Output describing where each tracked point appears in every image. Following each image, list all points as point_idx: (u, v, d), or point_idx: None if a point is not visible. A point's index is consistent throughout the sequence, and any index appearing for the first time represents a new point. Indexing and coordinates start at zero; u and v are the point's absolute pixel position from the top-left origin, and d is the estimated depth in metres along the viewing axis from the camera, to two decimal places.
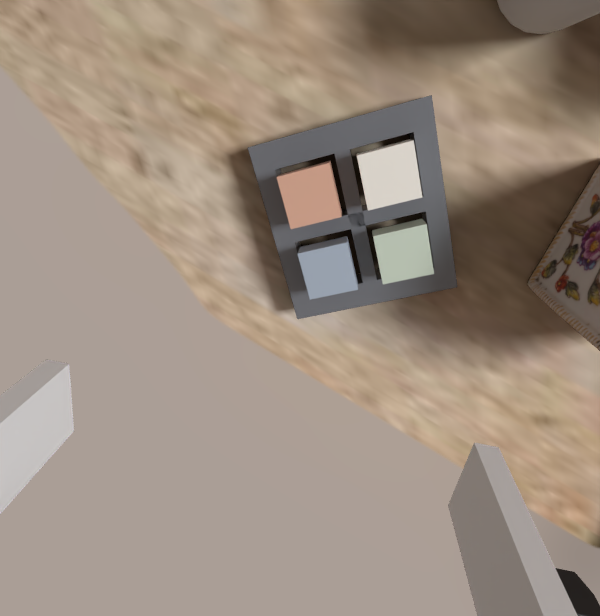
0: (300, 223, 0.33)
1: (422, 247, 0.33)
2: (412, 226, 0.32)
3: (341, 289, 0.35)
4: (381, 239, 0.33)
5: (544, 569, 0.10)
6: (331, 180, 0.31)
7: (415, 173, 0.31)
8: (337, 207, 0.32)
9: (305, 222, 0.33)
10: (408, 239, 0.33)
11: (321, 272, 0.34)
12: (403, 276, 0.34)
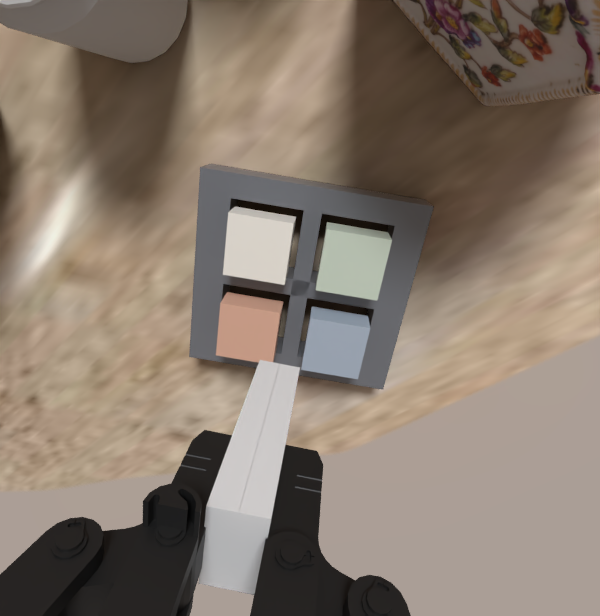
0: (270, 353, 0.29)
1: (352, 242, 0.26)
2: (323, 243, 0.26)
3: (361, 345, 0.29)
4: (323, 283, 0.27)
5: (275, 441, 0.12)
6: (238, 307, 0.28)
7: (264, 222, 0.26)
8: (268, 313, 0.28)
9: (271, 348, 0.29)
10: (336, 254, 0.26)
11: (332, 356, 0.29)
12: (378, 275, 0.27)
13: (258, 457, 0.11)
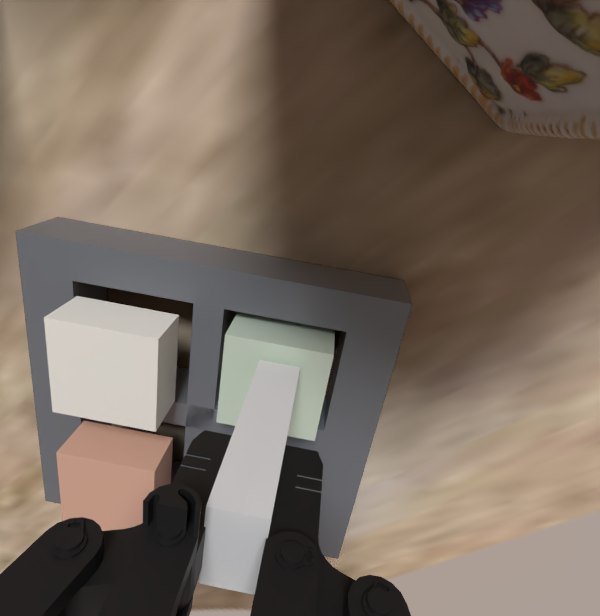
0: None
1: (269, 356, 0.16)
2: None
3: None
4: (227, 412, 0.17)
5: (276, 441, 0.12)
6: (86, 460, 0.17)
7: (107, 335, 0.15)
8: (135, 470, 0.17)
9: None
10: (243, 373, 0.16)
11: None
12: (314, 405, 0.16)
13: (258, 457, 0.11)
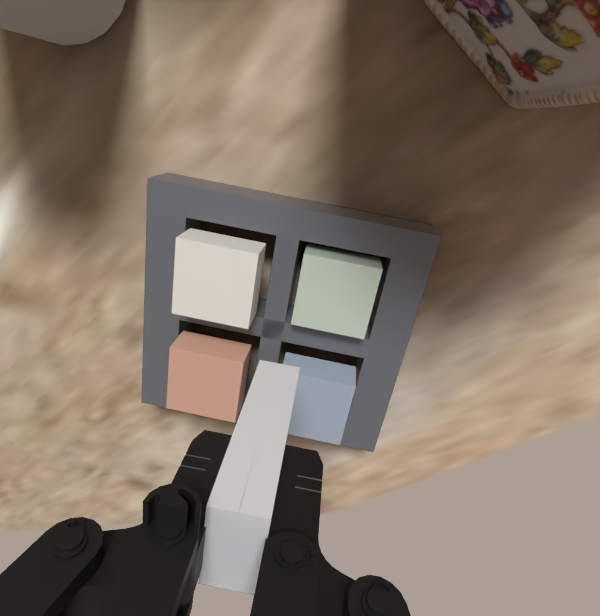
0: (232, 409, 0.24)
1: (335, 270, 0.22)
2: (301, 270, 0.22)
3: (344, 405, 0.23)
4: (299, 316, 0.23)
5: (275, 440, 0.12)
6: (192, 354, 0.23)
7: (221, 251, 0.20)
8: (229, 362, 0.23)
9: (233, 404, 0.24)
10: (315, 284, 0.22)
11: (308, 416, 0.23)
12: (365, 310, 0.22)
13: (258, 457, 0.11)
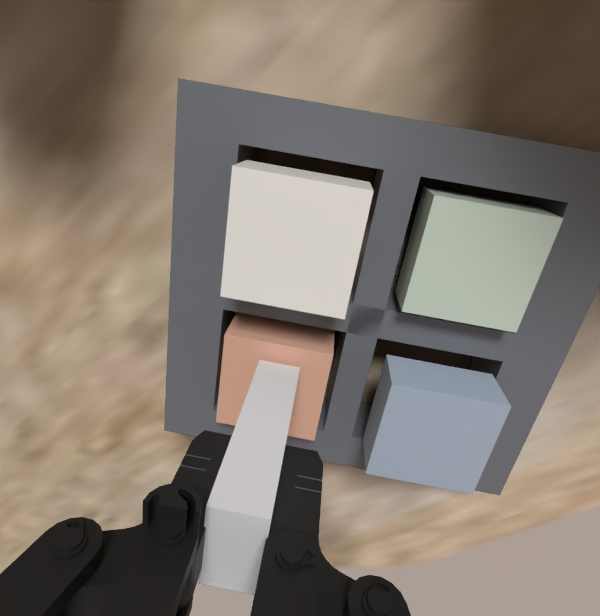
0: (312, 422, 0.17)
1: (483, 222, 0.13)
2: (424, 225, 0.14)
3: (488, 436, 0.15)
4: (417, 298, 0.15)
5: (276, 441, 0.12)
6: (257, 343, 0.16)
7: (309, 187, 0.12)
8: (311, 354, 0.16)
9: (313, 414, 0.17)
10: (447, 245, 0.14)
11: (428, 453, 0.15)
12: (525, 286, 0.14)
13: (258, 457, 0.11)
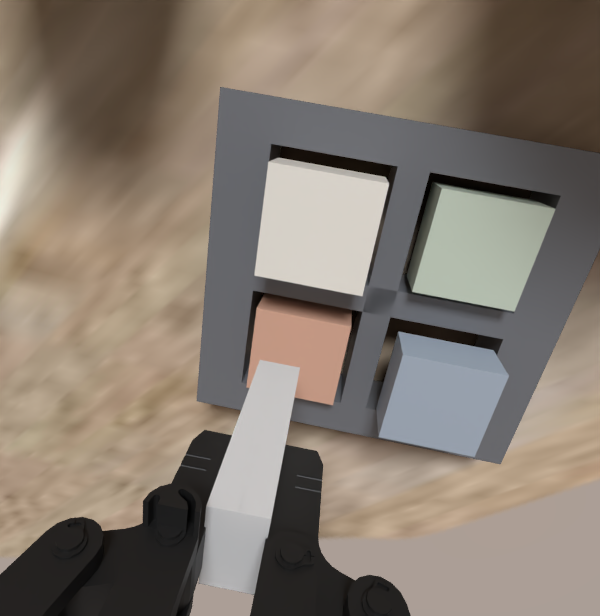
0: (331, 388, 0.19)
1: (485, 212, 0.15)
2: (432, 214, 0.16)
3: (489, 402, 0.17)
4: (425, 280, 0.17)
5: (275, 441, 0.12)
6: (285, 316, 0.18)
7: (333, 180, 0.14)
8: (332, 326, 0.18)
9: (332, 381, 0.19)
10: (453, 233, 0.16)
11: (435, 418, 0.17)
12: (522, 269, 0.16)
13: (258, 457, 0.11)
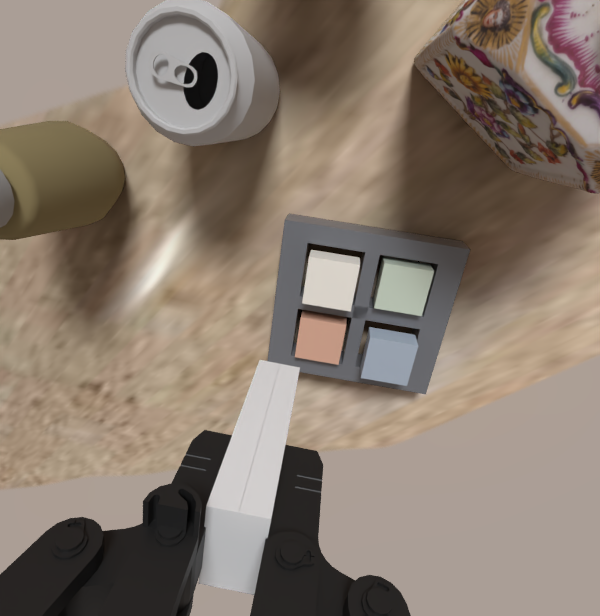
0: (337, 356, 0.38)
1: (404, 273, 0.35)
2: (381, 273, 0.35)
3: (410, 358, 0.36)
4: (380, 302, 0.36)
5: (275, 441, 0.12)
6: (314, 321, 0.37)
7: (336, 263, 0.33)
8: (337, 325, 0.37)
9: (338, 352, 0.38)
10: (390, 281, 0.35)
11: (387, 367, 0.36)
12: (423, 297, 0.35)
13: (258, 457, 0.11)
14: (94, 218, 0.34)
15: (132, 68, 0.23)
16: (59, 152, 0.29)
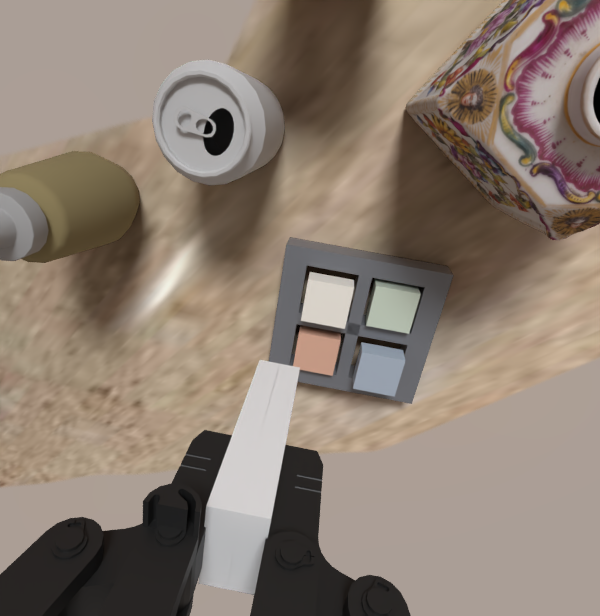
0: (331, 368, 0.42)
1: (393, 295, 0.38)
2: (373, 295, 0.39)
3: (398, 372, 0.40)
4: (371, 321, 0.39)
5: (275, 441, 0.12)
6: (311, 336, 0.41)
7: (333, 286, 0.37)
8: (332, 340, 0.41)
9: (332, 364, 0.42)
10: (381, 302, 0.39)
11: (376, 379, 0.40)
12: (410, 316, 0.39)
13: (258, 457, 0.11)
14: (112, 240, 0.37)
15: (159, 119, 0.27)
16: (86, 184, 0.32)
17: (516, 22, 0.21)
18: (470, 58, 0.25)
